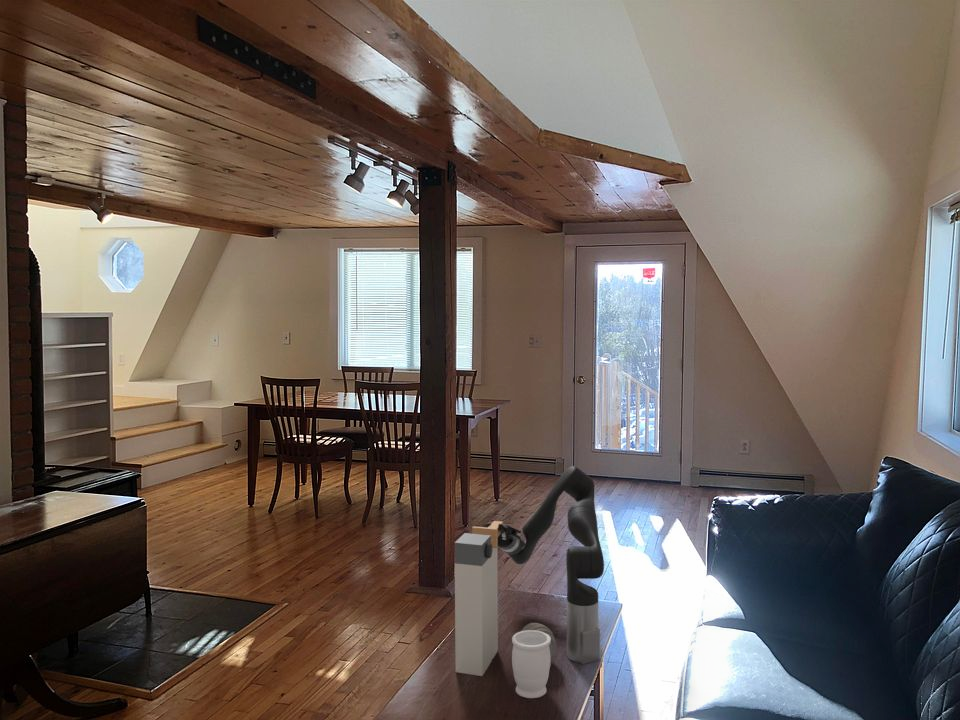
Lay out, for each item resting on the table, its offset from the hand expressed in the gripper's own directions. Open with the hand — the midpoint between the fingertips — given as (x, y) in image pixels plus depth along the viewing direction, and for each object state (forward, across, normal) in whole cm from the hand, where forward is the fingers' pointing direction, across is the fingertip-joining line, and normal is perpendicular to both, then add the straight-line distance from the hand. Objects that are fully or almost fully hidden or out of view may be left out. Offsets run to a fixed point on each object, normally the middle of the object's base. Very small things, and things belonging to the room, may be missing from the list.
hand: (493, 526), depth 242 cm
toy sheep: (-6, +17, +38) cm, 42 cm away
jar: (+8, +19, +46) cm, 50 cm away
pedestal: (-2, 0, +40) cm, 40 cm away
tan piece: (+1, 0, +4) cm, 4 cm away
